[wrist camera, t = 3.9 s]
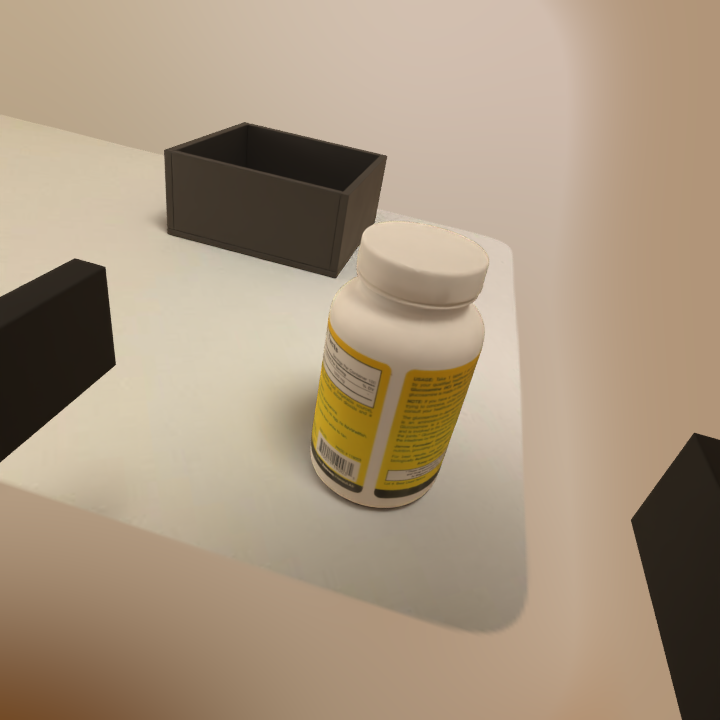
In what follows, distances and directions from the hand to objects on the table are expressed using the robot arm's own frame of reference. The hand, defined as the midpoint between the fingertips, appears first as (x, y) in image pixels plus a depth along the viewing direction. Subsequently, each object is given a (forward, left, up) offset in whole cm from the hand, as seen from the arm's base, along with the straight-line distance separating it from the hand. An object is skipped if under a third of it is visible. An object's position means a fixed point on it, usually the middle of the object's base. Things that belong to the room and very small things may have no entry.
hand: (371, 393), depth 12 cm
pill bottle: (0, -9, -11) cm, 14 cm away
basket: (+14, -34, -11) cm, 38 cm away
